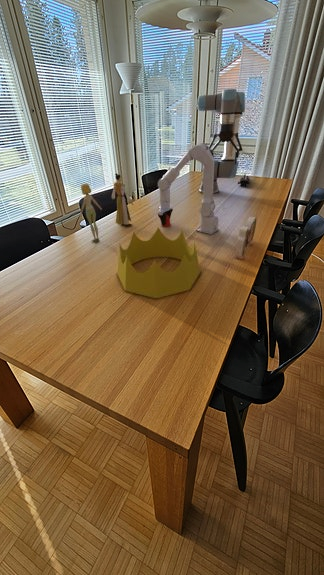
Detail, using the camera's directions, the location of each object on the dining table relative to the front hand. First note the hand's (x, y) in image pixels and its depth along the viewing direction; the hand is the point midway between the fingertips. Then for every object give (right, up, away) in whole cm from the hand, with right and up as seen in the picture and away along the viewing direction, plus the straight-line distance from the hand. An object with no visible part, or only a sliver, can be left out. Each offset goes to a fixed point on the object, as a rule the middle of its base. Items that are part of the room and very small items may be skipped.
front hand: (165, 222), depth 159 cm
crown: (-4, -33, -44) cm, 55 cm away
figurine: (-25, -1, +3) cm, 25 cm away
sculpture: (-38, -13, -14) cm, 43 cm away
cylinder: (0, -1, +1) cm, 1 cm away
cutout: (+38, -20, -29) cm, 52 cm away
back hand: (+35, +37, +3) cm, 51 cm away
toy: (+70, +53, +73) cm, 114 cm away
